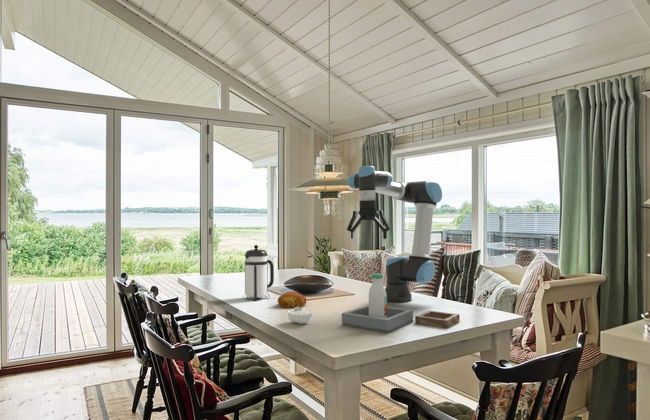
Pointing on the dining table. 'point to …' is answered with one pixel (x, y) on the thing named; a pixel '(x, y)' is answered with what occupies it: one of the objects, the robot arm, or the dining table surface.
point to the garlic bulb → (299, 315)
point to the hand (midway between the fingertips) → (368, 246)
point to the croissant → (291, 300)
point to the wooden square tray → (437, 319)
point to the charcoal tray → (377, 319)
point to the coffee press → (257, 273)
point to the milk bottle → (377, 297)
